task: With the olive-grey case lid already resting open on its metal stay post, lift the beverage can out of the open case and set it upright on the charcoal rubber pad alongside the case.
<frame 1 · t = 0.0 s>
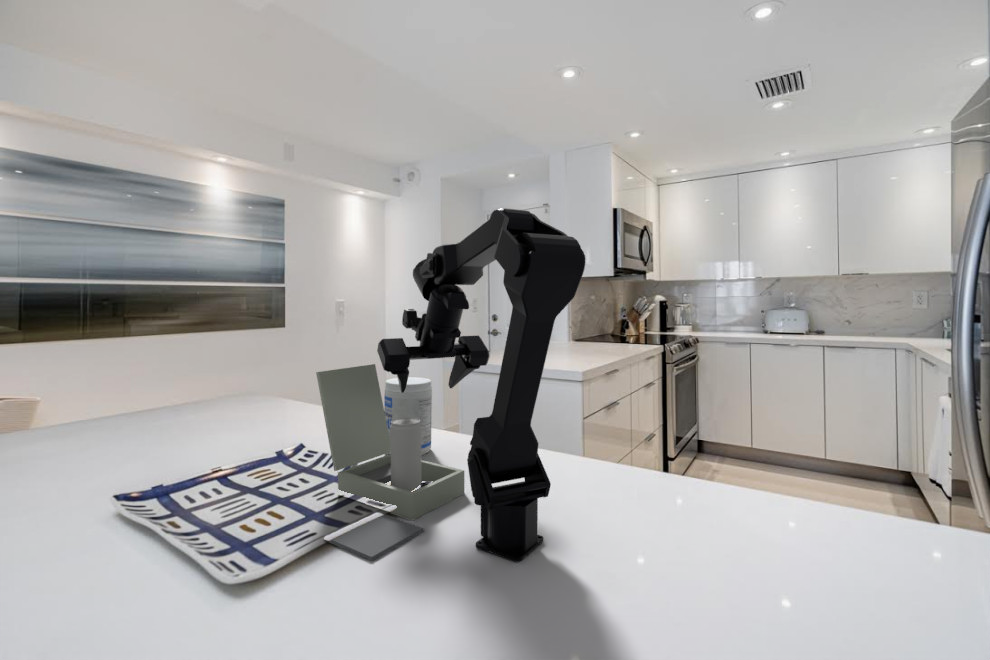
hand: (426, 388, 89), 15 cm above the countertop, tool tilted 35°, fingers open, 9 cm apart
lid: (356, 413, 83), point 12 cm above the countertop, hinge at 105.0°
beverage can: (406, 496, 77), resting in case
supplement tub: (408, 452, 100), on the countertop
pad: (374, 535, 64), on the countertop
case: (401, 494, 78), on the countertop
stay post: (354, 479, 84), on the countertop
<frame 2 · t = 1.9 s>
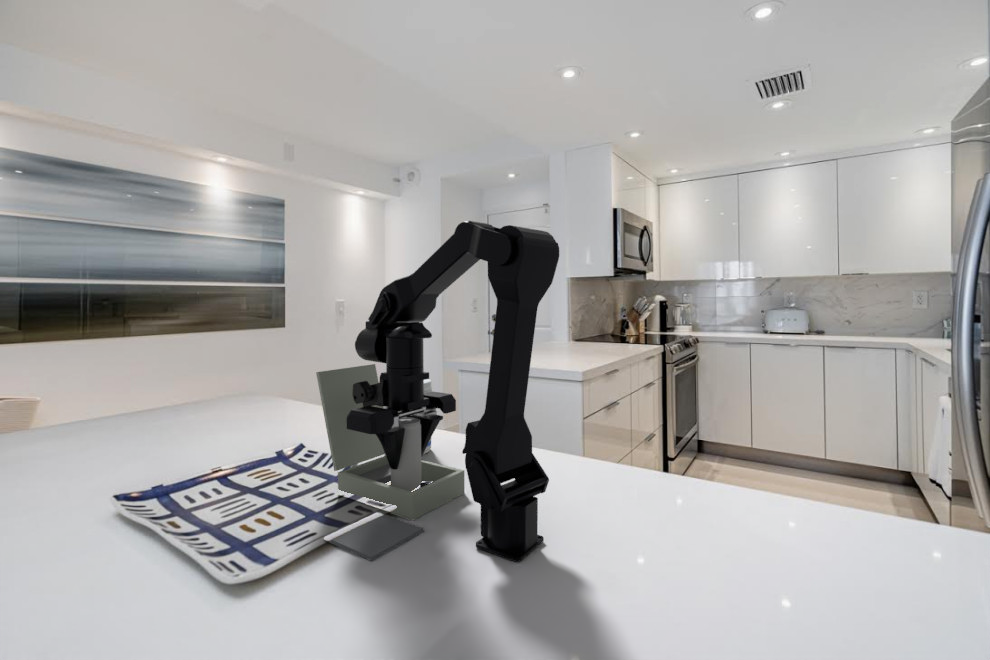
hand: (405, 464, 77), 5 cm above the countertop, tool pointing down, fingers closed on beverage can, 5 cm apart
beverage can: (406, 496, 77), resting in case, touching gripper
everything else where it was.
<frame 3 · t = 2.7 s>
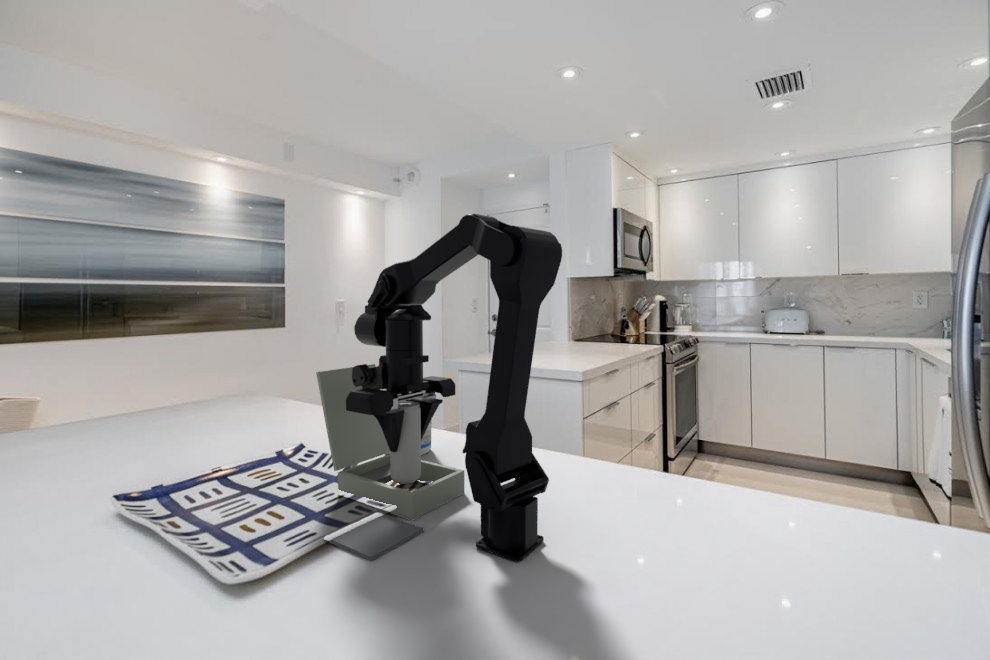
hand: (405, 447, 77), 8 cm above the countertop, tool pointing down, fingers closed on beverage can, 5 cm apart
beverage can: (405, 480, 77), point 2 cm above the countertop, touching gripper
everything else where it was.
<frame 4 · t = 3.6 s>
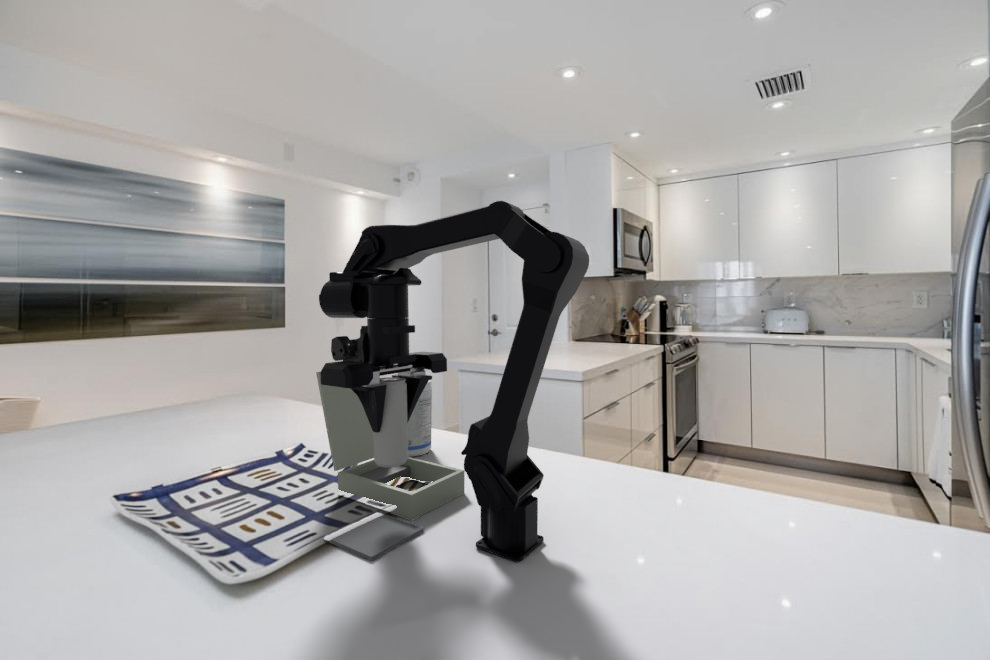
hand: (390, 428, 69), 13 cm above the countertop, tool pointing down, fingers closed on beverage can, 5 cm apart
beverage can: (391, 464, 70), point 7 cm above the countertop, touching gripper
everything else where it was.
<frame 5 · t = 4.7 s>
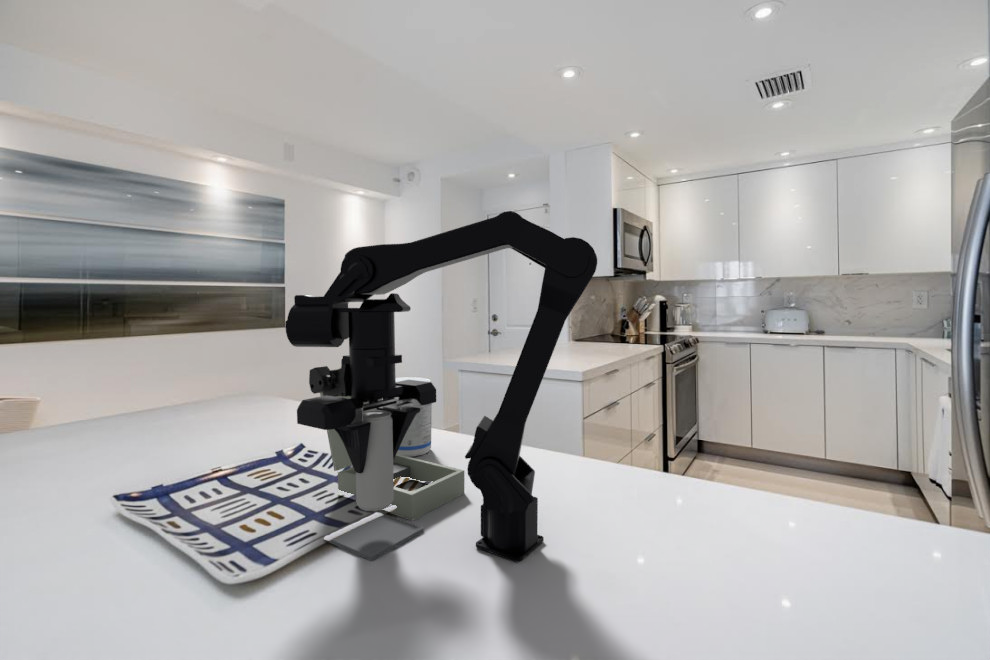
hand: (374, 466, 63), 9 cm above the countertop, tool pointing down, fingers closed on beverage can, 5 cm apart
beverage can: (375, 506, 64), point 4 cm above the countertop, touching gripper
everything else where it was.
when the fingers open (7 cm above the countertop, at t = 5.5 s): beverage can drops 1 cm, resting on pad.
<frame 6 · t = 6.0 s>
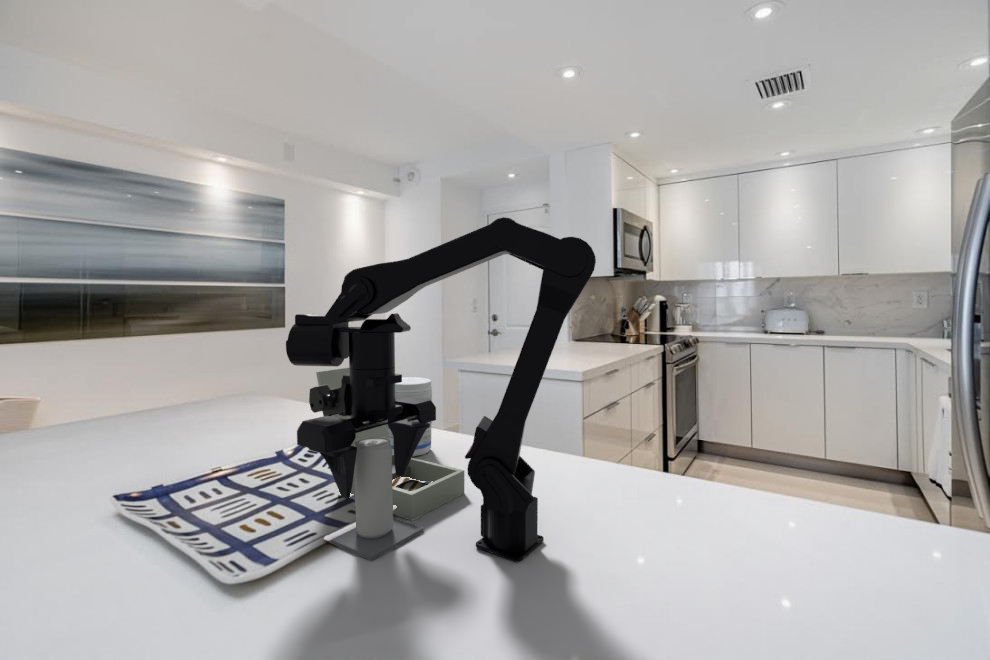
hand: (374, 485, 64), 7 cm above the countertop, tool pointing down, fingers open, 9 cm apart
beverage can: (374, 533, 64), resting on pad
everything else where it was.
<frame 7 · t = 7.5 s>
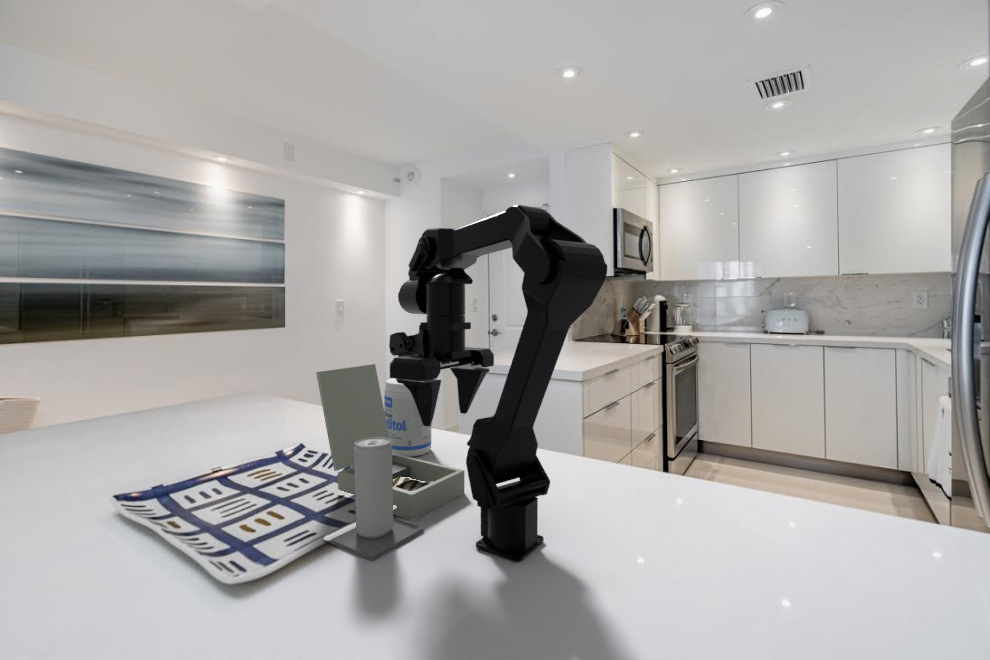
hand: (446, 419, 73), 13 cm above the countertop, tool pointing down, fingers open, 9 cm apart
nothing on the countertop moved.
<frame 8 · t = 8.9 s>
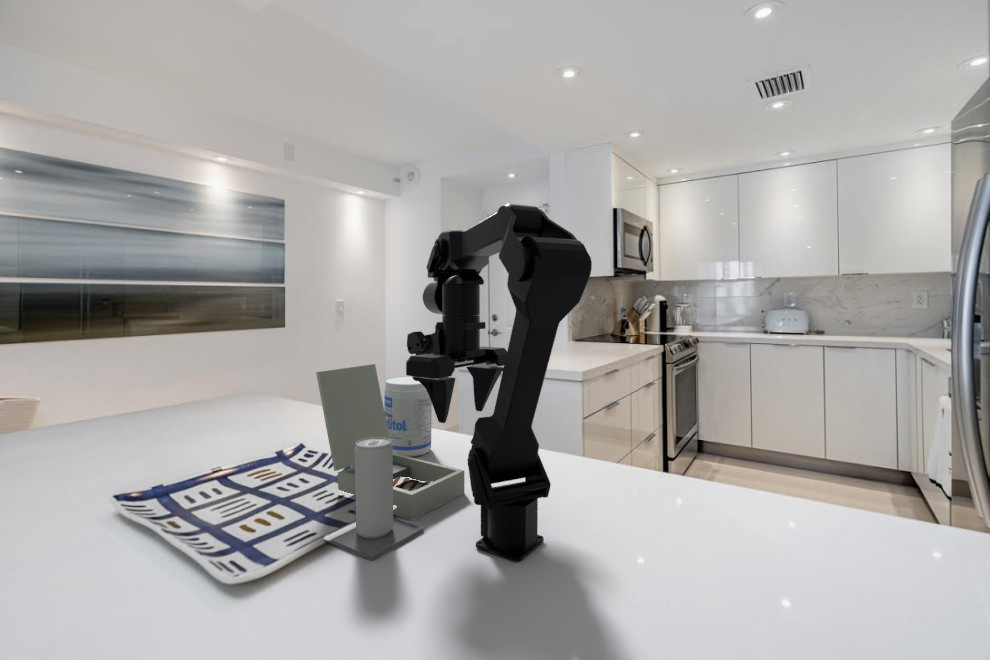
hand: (461, 416, 75), 13 cm above the countertop, tool pointing down, fingers open, 9 cm apart
nothing on the countertop moved.
at the end: beverage can 0.1 cm from the pad (horizontally); beverage can tilted 0°; beverage can resting on pad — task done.
